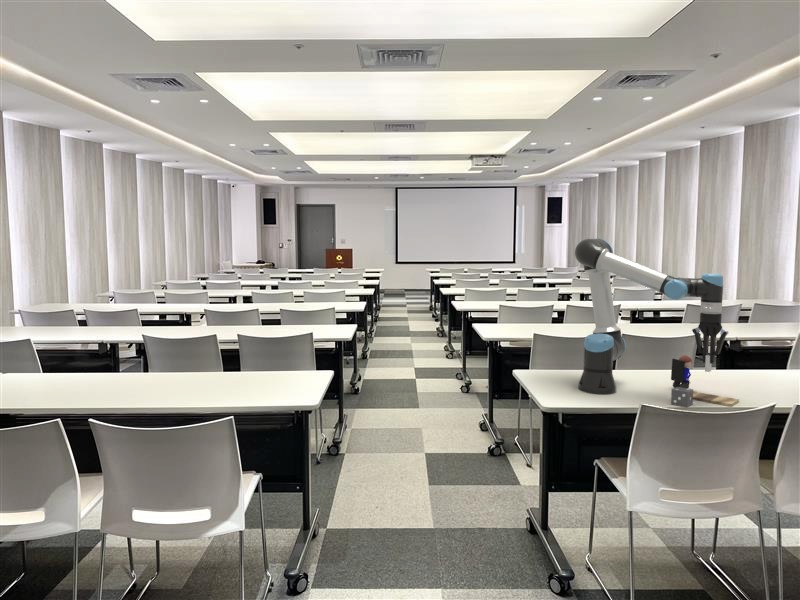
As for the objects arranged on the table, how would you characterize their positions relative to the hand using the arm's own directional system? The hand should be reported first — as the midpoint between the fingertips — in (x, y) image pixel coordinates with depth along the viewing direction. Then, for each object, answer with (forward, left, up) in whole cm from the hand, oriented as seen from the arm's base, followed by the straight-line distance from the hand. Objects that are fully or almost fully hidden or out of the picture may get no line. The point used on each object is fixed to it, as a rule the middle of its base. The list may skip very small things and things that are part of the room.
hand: (708, 371), depth 233 cm
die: (-4, -15, -12) cm, 20 cm away
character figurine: (-13, +7, -12) cm, 19 cm away
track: (0, 0, -11) cm, 11 cm away
